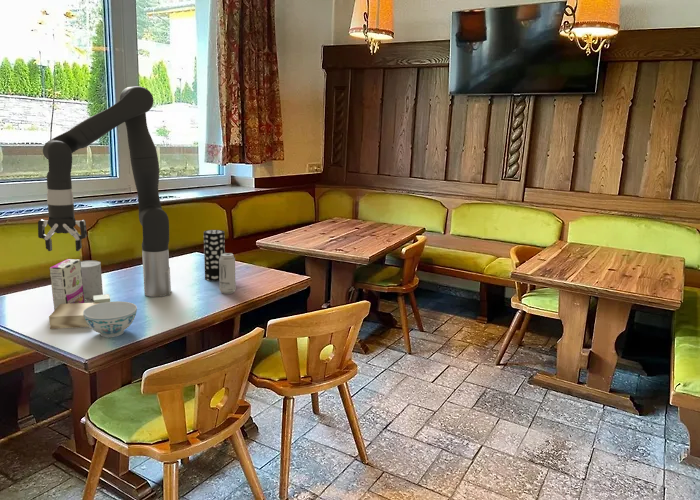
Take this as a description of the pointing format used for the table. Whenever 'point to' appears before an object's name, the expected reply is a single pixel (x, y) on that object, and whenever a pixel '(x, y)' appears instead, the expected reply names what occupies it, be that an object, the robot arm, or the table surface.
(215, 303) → the table surface
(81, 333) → the table surface
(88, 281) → the speckled grey cylinder
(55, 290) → the candy bar box
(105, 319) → the chinaware
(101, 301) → the brick
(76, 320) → the pedestal
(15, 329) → the table surface
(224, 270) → the energy drink can
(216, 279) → the white-spotted black cylinder
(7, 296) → the table surface
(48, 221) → the robot arm
